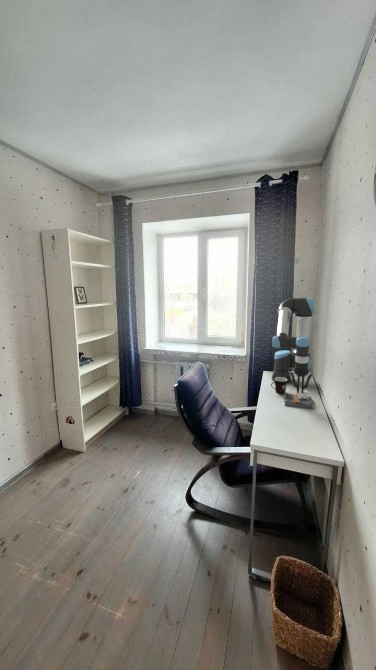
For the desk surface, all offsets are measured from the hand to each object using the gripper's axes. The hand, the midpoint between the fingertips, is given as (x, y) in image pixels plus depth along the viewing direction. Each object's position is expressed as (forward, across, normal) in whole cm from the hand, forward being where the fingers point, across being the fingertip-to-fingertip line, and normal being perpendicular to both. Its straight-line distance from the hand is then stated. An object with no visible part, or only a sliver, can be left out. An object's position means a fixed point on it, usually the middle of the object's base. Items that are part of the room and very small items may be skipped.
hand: (299, 397), depth 171 cm
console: (+5, -1, +3) cm, 6 cm away
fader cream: (+3, +3, +7) cm, 8 cm away
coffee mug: (+5, -14, +16) cm, 22 cm away
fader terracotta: (+3, -2, 0) cm, 3 cm away
